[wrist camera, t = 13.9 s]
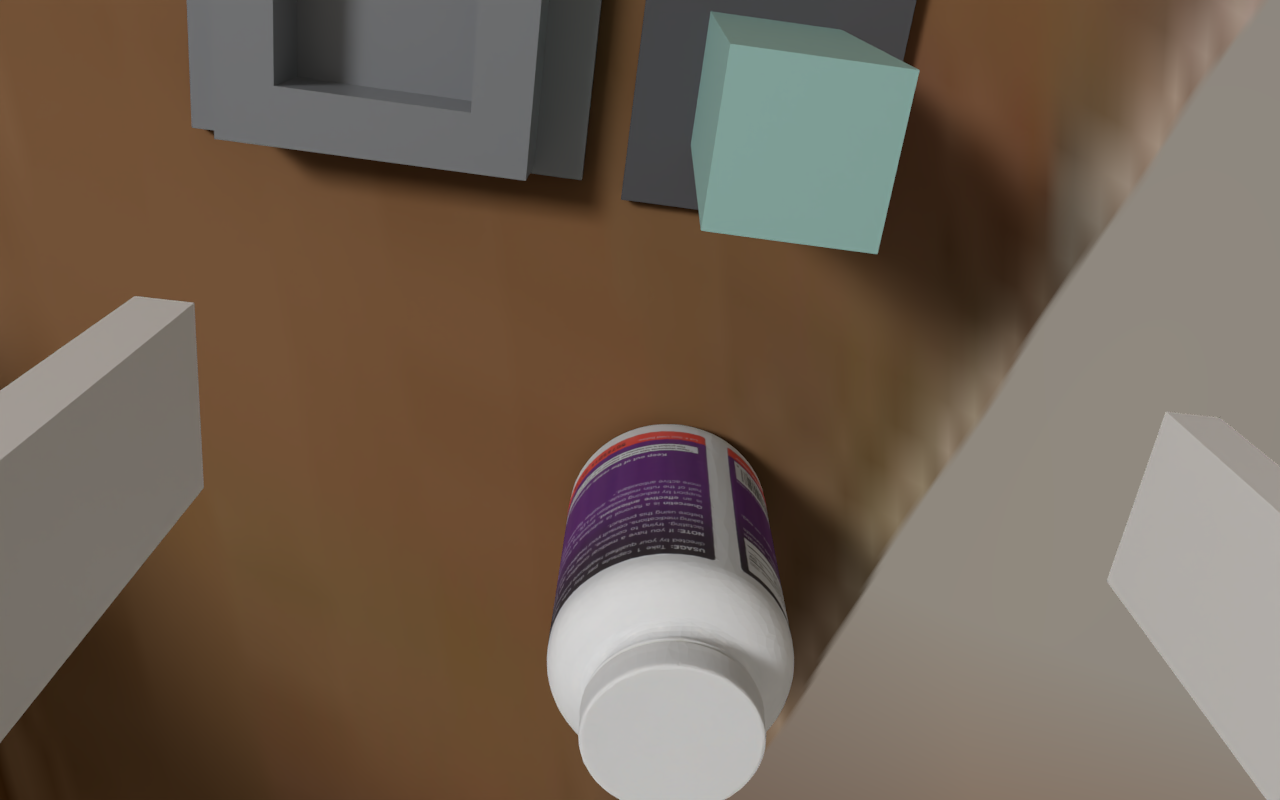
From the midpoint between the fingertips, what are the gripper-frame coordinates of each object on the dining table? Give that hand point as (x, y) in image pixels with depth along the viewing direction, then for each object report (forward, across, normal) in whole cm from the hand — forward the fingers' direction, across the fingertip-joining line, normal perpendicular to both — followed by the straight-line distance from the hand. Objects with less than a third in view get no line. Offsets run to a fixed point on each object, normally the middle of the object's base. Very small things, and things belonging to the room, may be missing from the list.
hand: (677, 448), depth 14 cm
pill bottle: (+26, +2, -15) cm, 30 cm away
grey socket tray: (+26, -9, +4) cm, 28 cm away
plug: (+25, +4, +2) cm, 25 cm away
